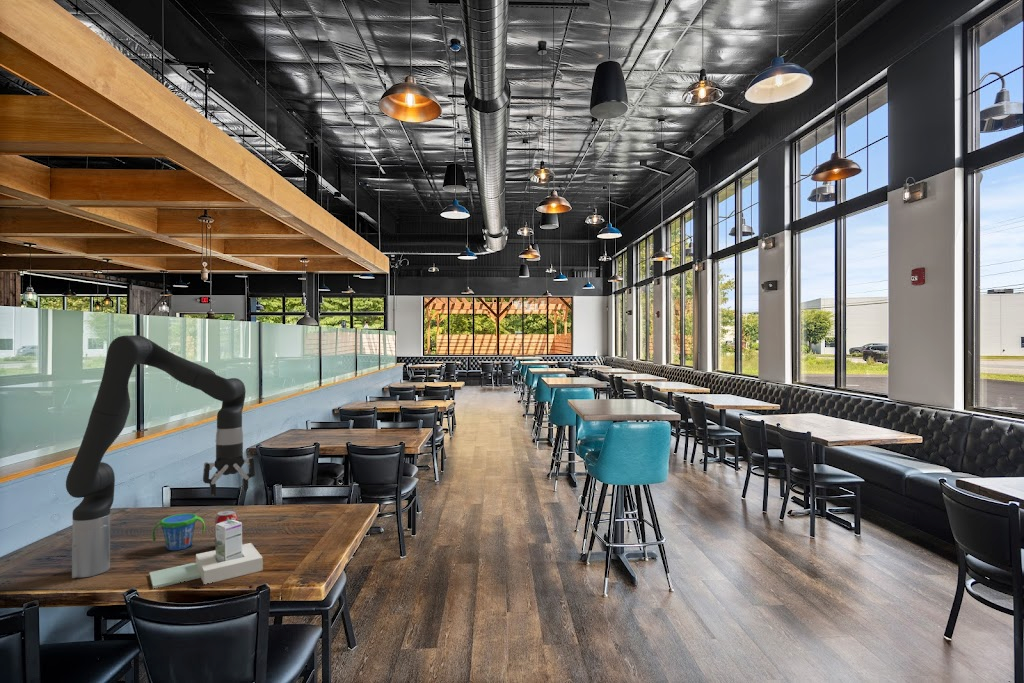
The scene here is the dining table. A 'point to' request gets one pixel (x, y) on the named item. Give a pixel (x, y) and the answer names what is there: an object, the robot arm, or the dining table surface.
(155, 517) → the dining table surface
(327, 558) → the dining table surface
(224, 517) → the soda can
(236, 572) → the pocket
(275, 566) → the dining table surface
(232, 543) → the syrup box
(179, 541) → the snack cup
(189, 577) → the tile
